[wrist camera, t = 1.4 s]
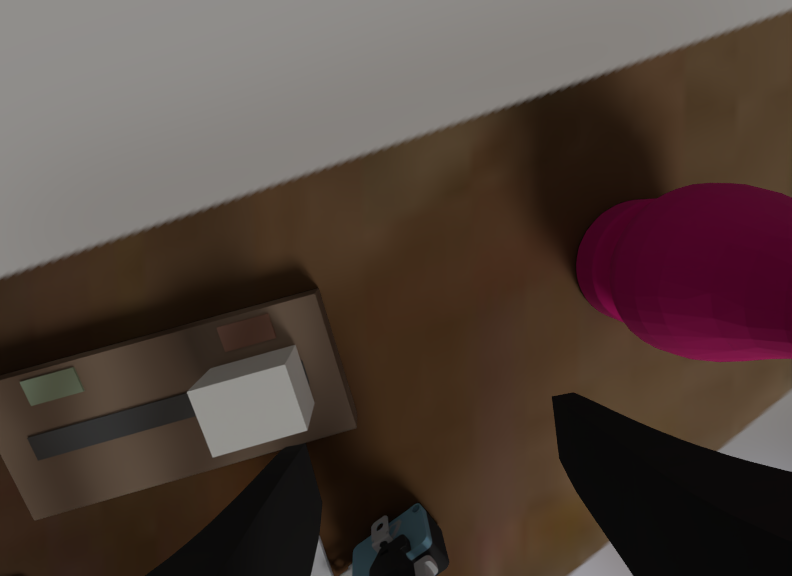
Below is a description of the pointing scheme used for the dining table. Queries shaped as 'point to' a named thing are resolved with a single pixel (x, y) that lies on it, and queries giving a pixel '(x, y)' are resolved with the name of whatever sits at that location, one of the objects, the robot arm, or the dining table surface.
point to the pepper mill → (696, 271)
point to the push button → (401, 547)
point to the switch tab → (252, 401)
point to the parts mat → (321, 562)
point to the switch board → (154, 405)
